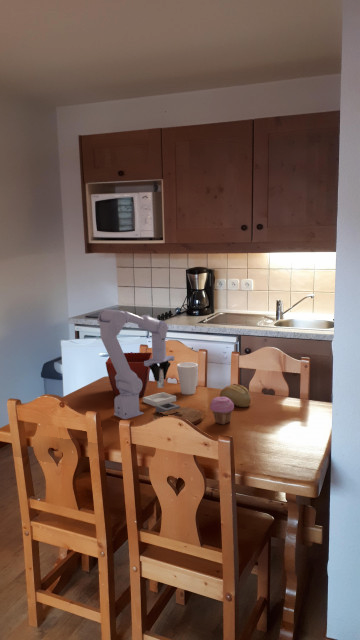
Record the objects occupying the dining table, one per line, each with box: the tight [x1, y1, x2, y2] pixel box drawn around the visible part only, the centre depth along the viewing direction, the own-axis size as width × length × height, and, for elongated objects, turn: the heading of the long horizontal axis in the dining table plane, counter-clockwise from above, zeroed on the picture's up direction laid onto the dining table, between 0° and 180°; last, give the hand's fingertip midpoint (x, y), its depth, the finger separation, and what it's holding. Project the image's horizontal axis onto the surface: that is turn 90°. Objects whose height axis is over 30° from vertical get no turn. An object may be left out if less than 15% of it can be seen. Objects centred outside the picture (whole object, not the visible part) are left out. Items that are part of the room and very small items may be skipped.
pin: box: [156, 368, 165, 389], centre depth 216 cm, size 3×3×8 cm
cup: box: [154, 402, 181, 413], centre depth 206 cm, size 7×7×3 cm
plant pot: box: [105, 352, 153, 398], centre depth 233 cm, size 19×19×17 cm
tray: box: [142, 391, 177, 407], centre depth 220 cm, size 11×9×2 cm
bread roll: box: [219, 383, 252, 408], centre depth 215 cm, size 10×15×8 cm, turn 44°
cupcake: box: [209, 396, 235, 425], centre depth 193 cm, size 9×9×10 cm
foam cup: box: [176, 361, 199, 396], centre depth 232 cm, size 10×9×13 cm
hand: (160, 379), depth 216 cm, fingers closed on pin, 3 cm apart
